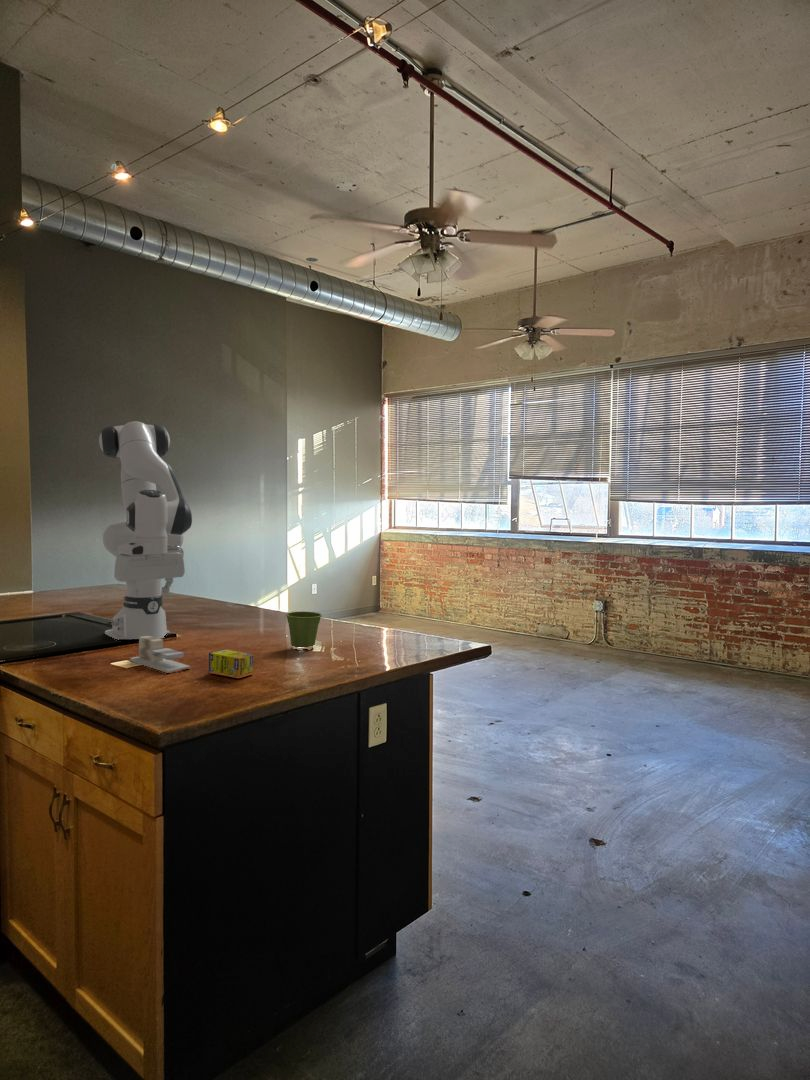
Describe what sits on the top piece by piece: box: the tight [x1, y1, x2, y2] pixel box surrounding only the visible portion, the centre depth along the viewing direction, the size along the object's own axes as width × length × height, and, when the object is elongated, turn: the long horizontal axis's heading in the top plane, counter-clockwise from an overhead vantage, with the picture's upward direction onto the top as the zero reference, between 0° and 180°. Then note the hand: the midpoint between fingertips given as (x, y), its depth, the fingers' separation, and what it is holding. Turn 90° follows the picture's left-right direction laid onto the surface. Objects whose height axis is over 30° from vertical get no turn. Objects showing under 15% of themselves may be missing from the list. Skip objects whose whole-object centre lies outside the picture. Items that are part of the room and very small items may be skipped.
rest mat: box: [129, 655, 191, 673], centre depth 196 cm, size 20×7×1 cm, turn 50°
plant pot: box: [284, 611, 323, 647], centre depth 223 cm, size 12×12×11 cm
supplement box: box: [208, 649, 254, 676], centre depth 188 cm, size 6×6×11 cm
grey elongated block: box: [138, 636, 185, 662], centre depth 196 cm, size 17×5×6 cm, turn 50°
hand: (150, 594), depth 198 cm, fingers open, 8 cm apart
